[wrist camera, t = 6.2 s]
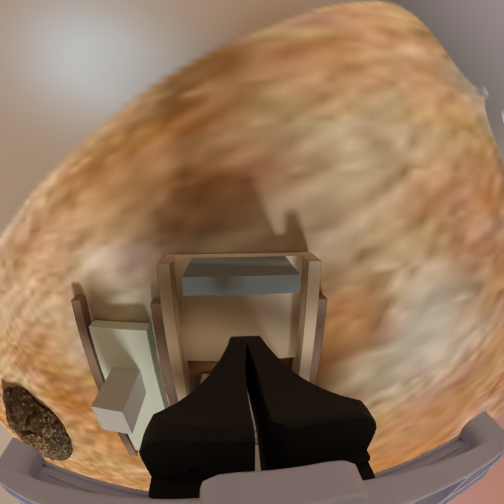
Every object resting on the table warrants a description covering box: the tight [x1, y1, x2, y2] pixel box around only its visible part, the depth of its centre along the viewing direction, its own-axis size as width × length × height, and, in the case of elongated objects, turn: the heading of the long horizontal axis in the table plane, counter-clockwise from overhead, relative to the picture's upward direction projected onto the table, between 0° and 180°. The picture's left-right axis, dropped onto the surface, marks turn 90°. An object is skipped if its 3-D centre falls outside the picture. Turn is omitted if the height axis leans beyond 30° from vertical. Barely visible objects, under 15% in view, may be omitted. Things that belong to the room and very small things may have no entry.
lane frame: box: [71, 294, 327, 456], centre depth 21 cm, size 20×20×1 cm
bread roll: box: [3, 387, 73, 461], centre depth 19 cm, size 13×12×5 cm
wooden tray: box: [157, 252, 321, 401], centre depth 18 cm, size 18×10×5 cm, turn 0°
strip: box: [89, 320, 168, 450], centre depth 18 cm, size 16×5×6 cm, turn 0°
